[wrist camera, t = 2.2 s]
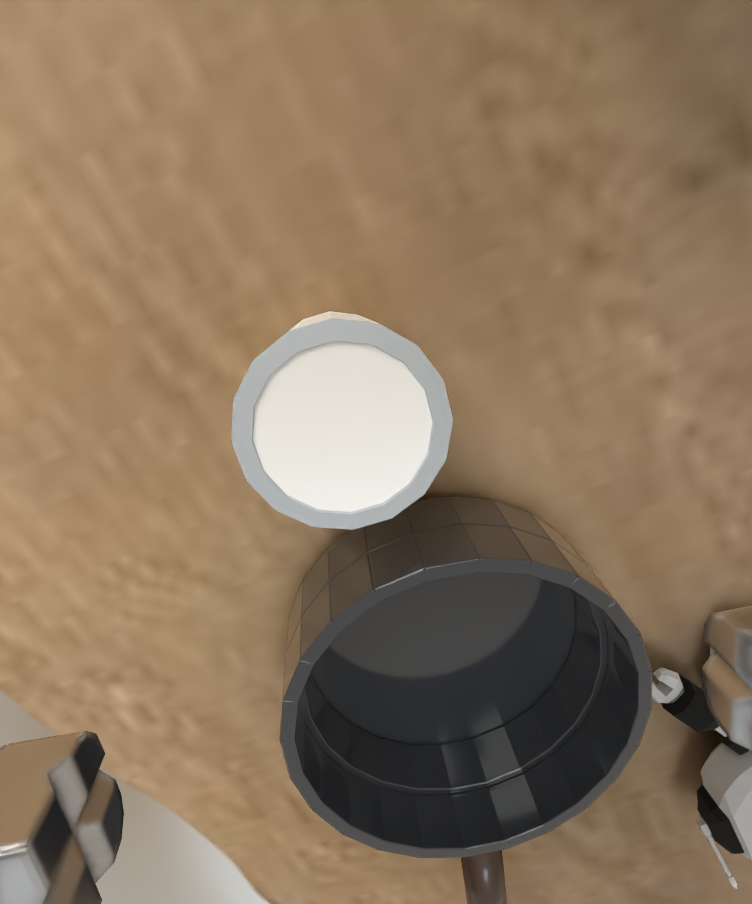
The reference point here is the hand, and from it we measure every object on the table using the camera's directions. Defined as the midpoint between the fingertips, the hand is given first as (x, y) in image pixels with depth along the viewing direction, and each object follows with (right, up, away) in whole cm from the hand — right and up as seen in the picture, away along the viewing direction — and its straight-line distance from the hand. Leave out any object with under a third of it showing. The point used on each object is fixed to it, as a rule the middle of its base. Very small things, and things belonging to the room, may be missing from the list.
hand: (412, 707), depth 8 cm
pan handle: (+5, -18, +23) cm, 29 cm away
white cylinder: (-2, +7, +17) cm, 18 cm away
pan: (+3, -6, +22) cm, 23 cm away
